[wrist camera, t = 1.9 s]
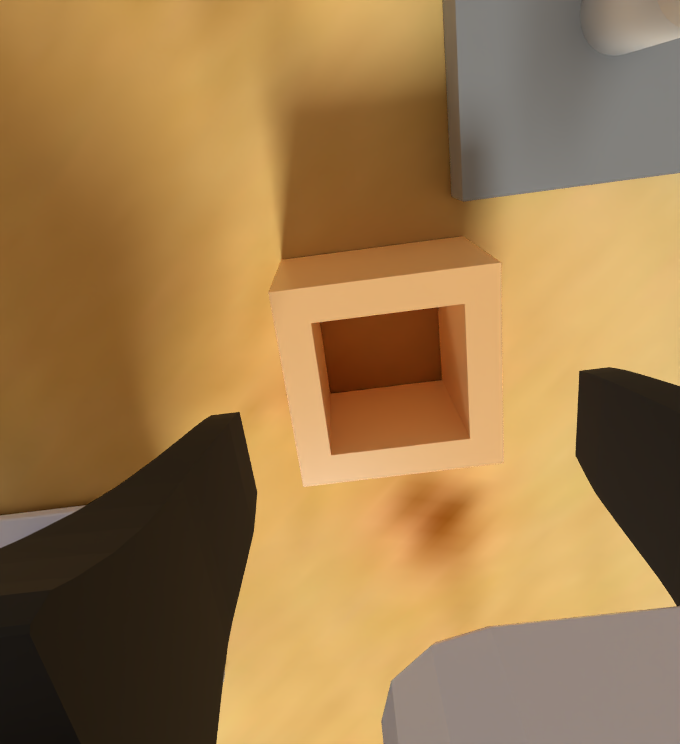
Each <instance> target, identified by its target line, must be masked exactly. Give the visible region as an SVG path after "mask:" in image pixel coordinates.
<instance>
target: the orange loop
mask: <svg viewBox="0 0 680 744" xmlns="http://www.w3.org/2000/svg"><path fill="white" fill-rule="evenodd" d="M268 293H269V299H270V304H271V310H272V315H273V321H274V326H275V332H276V338H277V343H278V349H279V354H280V360H281V365H282V371H283V376H284V382H285V388H286V393H287V399H288V404H289V410H290V415H291V421H292V426H293V432H294V438H295V443H296V449H297V454H298V460H299V465H300V471H301V477H302V482H303V487H306V486H315V485H323V484H331V483H340V482H348V481H357V480H365V479H374V478H382V477H391V476H399V475H408V474H416V473H425V472H433V471H442V470H450V469H458V468H467V467H475V466H484V465H492V464H501V463H504V440H503V362H502V284H501V262H500V261H498V260H497V259H495V258H494V257H493V256H491V255H490V254H488V253H487V252H485V251H484V250H483V249H481V248H480V247H478V246H477V245H475V244H474V243H472V242H471V241H470V240H468V239H467V238H465V237H464V236H460V237H452V238H444V239H437V240H429V241H421V242H414V243H406V244H398V245H391V246H383V247H375V248H368V249H360V250H352V251H345V252H337V253H329V254H322V255H314V256H306V257H299V258H291V259H283V260H281V262H280V264H279V267H278V269H277V272H276V274H275V277H274V280H273V282H272V285H271V287H270V290H269V292H268ZM435 307H438V321H439V338H440V355H441V372H442V380H438V381H430V382H422V383H414V384H406V385H397V386H389V387H381V388H373V389H365V390H357V391H349V392H340V393H332V394H330V388H329V381H328V374H327V367H326V360H325V353H324V347H323V340H322V333H321V326H320V322H325V321H333V320H341V319H348V318H356V317H364V316H372V315H380V314H388V313H396V312H404V311H412V310H419V309H427V308H435Z"/></svg>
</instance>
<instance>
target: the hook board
mask: <svg viewBox="0 0 680 744" xmlns="http://www.w3.org/2000/svg"><path fill="white" fill-rule="evenodd" d="M443 22H444V44H445V65H446V87H447V109H448V131H449V153H450V175H451V197H454V198H456V199H458V200H461V201H471V200H478V199H486V198H493V197H501V196H509V195H516V194H524V193H531V192H539V191H546V190H554V189H561V188H569V187H577V186H584V185H592V184H599V183H607V182H614V181H622V180H630V179H637V178H645V177H652V176H660V175H667V174H675V173H680V0H443Z"/></svg>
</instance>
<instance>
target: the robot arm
mask: <svg viewBox="0 0 680 744" xmlns="http://www.w3.org/2000/svg"><path fill="white" fill-rule="evenodd" d="M576 457H577V459H578V461H579V463H580V465H581V467H582V469H583V471H584V473H585V475H586V477H587V479H588V480H589V482H590V484H591V486H592V488H593V489H594V491H595V493H596V494H597V496H598V497H599V499H600V500H601V501H602V503H603V504H604V506H605V507H606V508H607V510H608V511H609V512H610V514H611V515H612V516H613V518H614V519H615V521H616V522H617V523H618V525H619V526H620V527H621V529H622V530H623V531H624V533H625V534H626V535H627V537H628V538H629V539H630V541H631V542H632V543H633V545H634V546H635V547H636V549H637V550H638V551H639V553H640V554H641V555H642V557H643V558H644V559H645V561H646V562H647V563H648V565H649V566H650V567H651V569H652V570H653V571H654V572H655V574H656V575H657V576H658V578H659V579H660V581H661V582H662V584H663V585H664V587H665V588H666V590H667V591H668V593H669V594H670V595H671V597H672V599H673V600H674V602H675V604H676V605H677V606H676V607H667V608H658V609H648V610H639V611H630V612H620V613H611V614H601V615H592V616H583V617H573V618H564V619H554V620H545V621H536V622H526V623H517V624H507V625H498V626H489V627H485V628H481V629H478V630H475V631H472V632H468V633H465V634H462V635H458V636H455V637H452V638H449V639H445V640H442V641H439V642H435V643H434V644H433V645H431V646H430V647H429V648H428V649H427V650H426V651H424V652H423V653H422V654H421V655H420V656H419V657H418V658H417V659H415V660H414V661H413V662H412V663H411V664H410V665H409V666H407V667H406V668H405V669H404V670H403V671H402V672H401V673H400V674H398V675H397V676H396V677H395V678H394V679H393V680H392V681H391V684H390V688H389V692H388V697H387V701H386V705H385V709H384V713H383V717H382V732H383V743H384V744H680V386H677V385H674V384H671V383H667V382H664V381H661V380H658V379H654V378H651V377H648V376H644V375H641V374H637V373H634V372H630V371H626V370H622V369H617V368H610V367H608V368H600V369H592V370H583V371H579V392H578V414H577V435H576ZM256 500H257V489H256V485H255V480H254V476H253V471H252V467H251V462H250V458H249V453H248V448H247V444H246V439H245V435H244V430H243V426H242V421H241V417H240V412H236V413H228V414H219V415H211V416H210V417H208V418H206V419H205V420H203V421H202V422H201V423H199V424H198V425H197V426H195V427H194V428H193V429H192V430H190V431H189V432H188V433H187V434H185V435H184V436H183V437H182V438H181V439H179V440H178V441H177V442H176V443H174V444H173V445H172V446H171V447H169V448H168V449H167V450H166V451H164V452H163V453H162V454H161V455H159V456H158V457H157V458H155V459H154V460H153V461H151V462H150V463H149V464H147V465H146V466H145V467H143V468H142V469H140V470H139V471H138V472H136V473H135V474H134V475H132V476H131V477H129V478H128V479H127V480H125V481H124V482H123V483H121V484H120V485H118V486H117V487H115V488H114V489H112V490H111V491H109V492H107V493H106V494H104V495H103V496H101V497H99V498H98V499H96V500H94V501H93V502H91V503H89V504H88V505H84V506H76V507H67V508H59V509H50V510H42V511H34V512H25V513H17V514H8V515H0V744H216V740H217V731H218V722H219V713H220V703H221V694H222V686H223V682H224V677H225V663H226V655H227V647H228V641H229V636H230V631H231V626H232V621H233V617H234V613H235V609H236V604H237V600H238V596H239V592H240V588H241V584H242V579H243V575H244V571H245V567H246V563H247V559H248V554H249V550H250V546H251V541H252V537H253V532H254V523H255V513H256Z"/></svg>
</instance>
